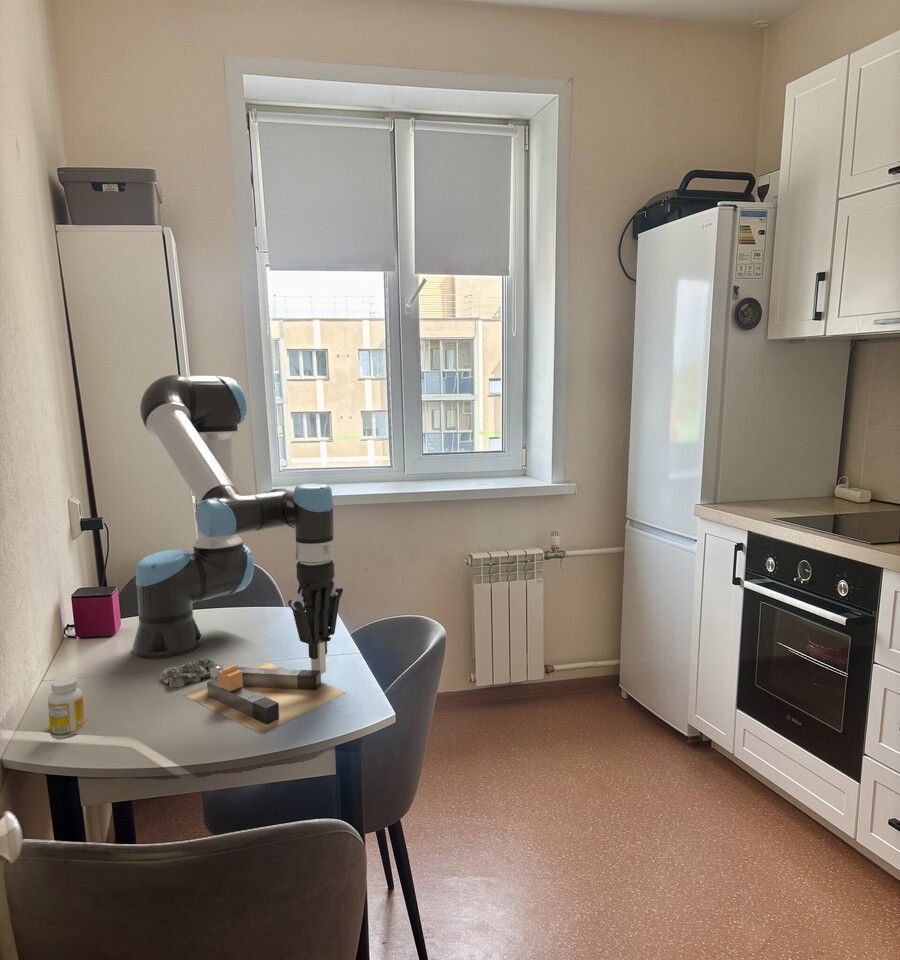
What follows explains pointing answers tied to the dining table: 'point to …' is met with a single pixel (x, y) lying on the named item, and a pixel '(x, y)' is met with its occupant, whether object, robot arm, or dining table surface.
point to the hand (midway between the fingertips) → (318, 671)
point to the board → (287, 698)
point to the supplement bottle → (65, 708)
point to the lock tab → (230, 678)
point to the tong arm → (281, 678)
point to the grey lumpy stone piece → (190, 667)
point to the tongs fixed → (242, 699)
